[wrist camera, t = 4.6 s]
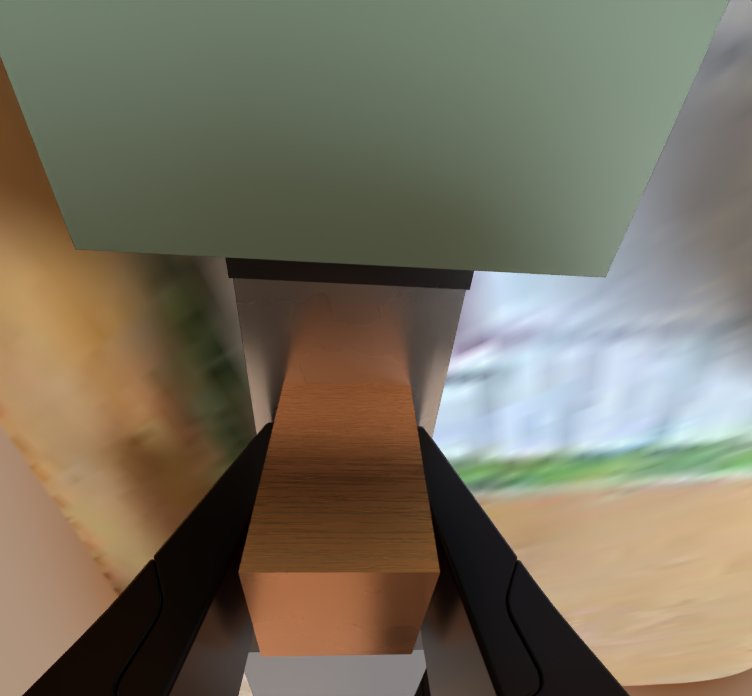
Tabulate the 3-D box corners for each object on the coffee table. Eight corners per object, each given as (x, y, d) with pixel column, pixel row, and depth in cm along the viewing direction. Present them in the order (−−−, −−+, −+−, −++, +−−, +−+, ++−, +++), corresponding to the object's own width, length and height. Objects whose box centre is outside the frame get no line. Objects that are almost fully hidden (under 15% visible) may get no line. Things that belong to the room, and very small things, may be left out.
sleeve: (392, 581, 25) (401, 724, 19) (285, 581, 24) (265, 728, 19) (412, 483, 19) (434, 649, 14) (272, 481, 18) (237, 652, 13)
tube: (381, 549, 20) (392, 773, 14) (299, 549, 20) (271, 777, 13) (441, 166, 10) (602, 365, 3) (268, 153, 9) (72, 346, 3)
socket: (480, 169, 11) (605, 278, 5) (225, 151, 10) (75, 249, 5) (534, -87, 8) (912, -410, 3) (187, -128, 7) (-269, -634, 2)
